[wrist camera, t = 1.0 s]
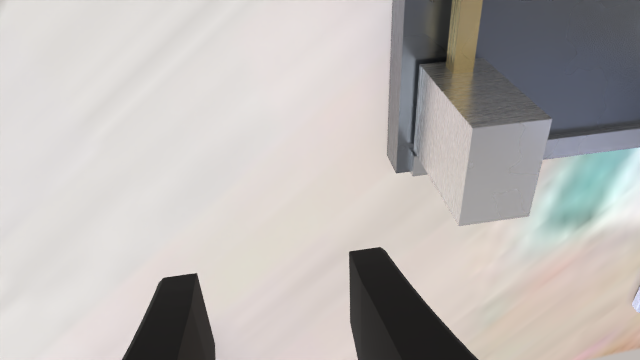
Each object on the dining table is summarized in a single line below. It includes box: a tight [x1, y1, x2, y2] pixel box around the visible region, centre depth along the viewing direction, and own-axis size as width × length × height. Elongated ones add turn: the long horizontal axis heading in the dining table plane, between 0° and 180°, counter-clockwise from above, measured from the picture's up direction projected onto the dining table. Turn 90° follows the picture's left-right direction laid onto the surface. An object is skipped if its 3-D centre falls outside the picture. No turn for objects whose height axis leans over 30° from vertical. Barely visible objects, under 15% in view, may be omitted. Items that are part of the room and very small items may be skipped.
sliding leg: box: [414, 0, 552, 226], centre depth 14 cm, size 2×5×4 cm, turn 2°
